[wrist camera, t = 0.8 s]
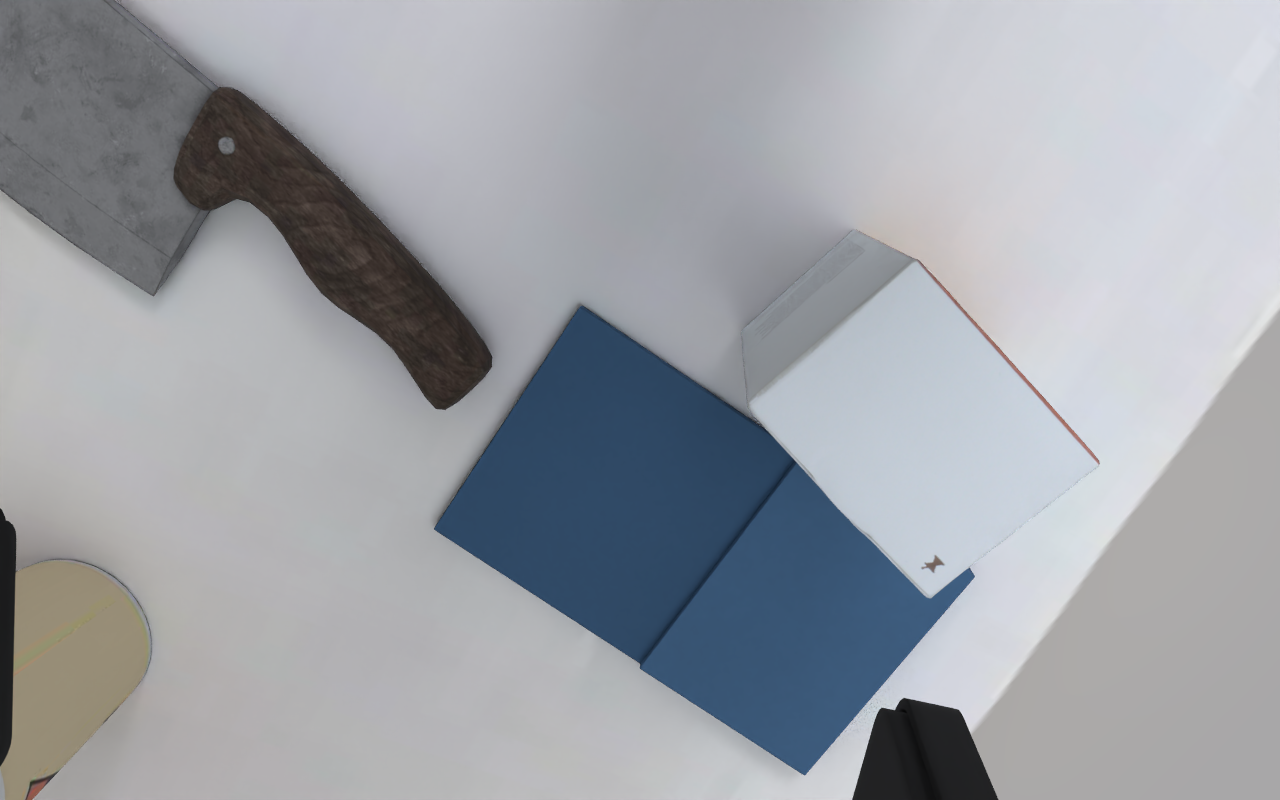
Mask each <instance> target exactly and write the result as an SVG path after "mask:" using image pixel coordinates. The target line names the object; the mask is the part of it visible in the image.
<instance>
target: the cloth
mask: <svg viewBox="0 0 1280 800" xmlns="http://www.w3.org/2000/svg"><path fill="white" fill-rule="evenodd" d="M434 530H436V531H437V532H439V533H440V534H442V535H443V536H445V537H446V538H448V539H449V540H451V541H453V542H454V543H456V544H457V545H459V546H460V547H462V548H463V549H465V550H466V551H468V552H469V553H471V554H473V555H474V556H476V557H477V558H479V559H480V560H482V561H483V562H485V563H486V564H488V565H489V566H491V567H493V568H494V569H496V570H497V571H499V572H500V573H502V574H503V575H505V576H506V577H508V578H509V579H511V580H513V581H514V582H516V583H517V584H519V585H520V586H522V587H523V588H525V589H526V590H528V591H529V592H531V593H532V594H534V595H536V596H537V597H539V598H540V599H542V600H543V601H545V602H546V603H548V604H549V605H551V606H552V607H554V608H556V609H557V610H559V611H560V612H562V613H563V614H565V615H566V616H568V617H569V618H571V619H572V620H574V621H576V622H577V623H579V624H580V625H582V626H583V627H585V628H586V629H588V630H589V631H591V632H592V633H594V634H596V635H597V636H599V637H600V638H602V639H603V640H605V641H606V642H608V643H609V644H611V645H612V646H614V647H616V648H617V649H619V650H620V651H622V652H623V653H625V654H626V655H628V656H629V657H631V658H632V659H634V660H636V661H637V662H639V663H640V669H641V670H643V671H645V672H646V673H648V674H649V675H651V676H652V677H654V678H655V679H657V680H658V681H660V682H661V683H663V684H665V685H666V686H668V687H669V688H671V689H672V690H674V691H675V692H677V693H678V694H680V695H681V696H683V697H685V698H686V699H688V700H689V701H691V702H692V703H694V704H695V705H697V706H698V707H700V708H701V709H703V710H705V711H706V712H708V713H709V714H711V715H712V716H714V717H715V718H717V719H718V720H720V721H721V722H723V723H725V724H726V725H728V726H729V727H731V728H732V729H734V730H735V731H737V732H738V733H740V734H741V735H743V736H745V737H746V738H748V739H749V740H751V741H752V742H754V743H755V744H757V745H758V746H760V747H761V748H763V749H765V750H766V751H768V752H769V753H771V754H772V755H774V756H775V757H777V758H778V759H780V760H781V761H783V762H785V763H786V764H788V765H789V766H791V767H792V768H794V769H795V770H797V771H798V772H800V773H801V774H803V775H806V774H807V772H808V771H809V770H810V769H811V768H812V766H813V765H814V764H815V763H816V762H817V761H818V759H819V758H820V757H821V756H822V755H823V754H824V752H825V751H826V750H827V749H828V748H829V747H830V745H831V744H832V743H833V742H834V741H835V740H836V738H837V737H838V736H839V735H840V734H841V733H842V731H843V730H844V729H845V728H846V727H847V726H848V724H849V723H850V722H851V721H852V720H853V719H854V717H855V716H856V715H857V714H858V713H859V712H860V710H861V709H862V708H863V707H864V706H865V705H866V703H867V702H868V701H869V700H870V699H871V698H872V696H873V695H874V694H875V693H876V692H877V691H878V689H879V688H880V687H881V686H882V685H883V684H884V682H885V681H886V680H887V679H888V678H889V676H890V675H891V674H892V673H893V672H894V671H895V669H896V668H897V667H898V666H899V665H900V664H901V662H902V661H903V660H904V659H905V658H906V657H907V655H908V654H909V653H910V652H911V651H912V650H913V648H914V647H915V646H916V645H917V644H918V643H919V641H920V640H921V639H922V638H923V637H924V636H925V634H926V633H927V632H928V631H929V630H930V629H931V627H932V626H933V625H934V624H935V623H936V622H937V620H938V619H939V618H940V617H941V616H942V615H943V613H944V612H945V611H946V610H947V609H948V608H949V606H950V605H951V604H952V603H953V602H954V601H955V599H956V598H957V597H958V596H959V595H960V594H961V592H962V591H963V590H964V589H965V588H966V586H967V585H968V584H969V583H970V582H971V581H972V579H973V578H974V577H975V576H974V574H973V573H972V571H971V569H970V568H968V569H966V570H965V571H964V572H963V573H961V574H960V575H959V576H957V577H956V578H955V579H954V580H952V581H951V582H950V583H949V584H947V585H946V586H945V587H944V588H943V589H941V590H940V591H939V592H938V593H937V594H935V595H934V596H933V597H932V598H927V597H926V596H924V595H923V594H922V593H921V592H920V591H919V590H918V588H917V587H916V586H915V585H914V584H913V583H912V582H911V581H910V580H909V579H908V578H907V577H906V576H905V575H904V574H903V573H902V572H901V571H900V570H899V569H898V568H897V567H896V566H895V565H894V564H893V563H892V562H891V561H890V560H889V559H888V558H887V557H886V556H885V555H884V554H883V553H882V552H881V550H880V549H879V548H878V547H877V546H876V545H875V544H874V543H873V542H872V541H871V540H870V539H868V538H867V537H866V536H865V535H864V534H863V533H862V532H860V531H859V530H858V529H857V528H856V527H855V526H854V525H853V524H852V523H851V521H850V520H849V519H848V518H847V517H846V516H845V515H844V514H843V513H842V512H841V511H840V510H839V509H838V508H837V507H836V506H835V505H834V504H833V503H832V501H831V500H830V499H829V498H828V497H827V495H826V494H825V493H824V492H823V491H822V490H821V489H820V487H819V486H818V485H817V484H816V483H815V482H814V481H813V480H812V479H811V478H810V477H809V475H808V474H807V473H806V472H805V471H804V470H803V469H802V468H801V467H800V466H799V464H798V463H797V462H796V461H795V460H794V459H793V458H792V457H791V456H790V455H789V454H788V453H787V452H786V450H785V449H784V448H783V447H782V446H781V445H780V444H779V443H778V442H777V441H776V440H775V438H774V437H773V436H772V435H771V434H770V433H769V432H768V431H767V430H765V429H764V428H762V427H761V426H759V425H758V424H756V423H755V422H753V421H752V420H751V419H749V418H748V417H746V416H745V415H743V414H742V413H740V412H739V411H737V410H736V409H734V408H733V407H731V406H730V405H728V404H727V403H725V402H724V401H722V400H721V399H719V398H718V397H717V396H715V395H714V394H712V393H711V392H709V391H708V390H706V389H705V388H703V387H702V386H700V385H699V384H697V383H696V382H694V381H693V380H691V379H690V378H688V377H687V376H685V375H684V374H683V373H681V372H680V371H678V370H677V369H675V368H674V367H672V366H671V365H669V364H668V363H666V362H665V361H663V360H662V359H660V358H659V357H657V356H656V355H654V354H653V353H651V352H650V351H649V350H647V349H646V348H644V347H643V346H641V345H640V344H638V343H637V342H635V341H634V340H632V339H631V338H629V337H628V336H626V335H625V334H623V333H622V332H620V331H619V330H617V329H616V328H615V327H613V326H612V325H610V324H609V323H607V322H606V321H604V320H603V319H601V318H600V317H598V316H597V315H595V314H594V313H592V312H591V311H589V310H588V309H586V308H585V307H583V306H580V307H579V309H578V310H577V312H576V313H575V315H574V316H573V318H572V319H571V321H570V322H569V324H568V325H567V327H566V328H565V330H564V331H563V333H562V334H561V336H560V338H559V339H558V341H557V342H556V344H555V345H554V347H553V348H552V350H551V351H550V353H549V354H548V356H547V357H546V359H545V360H544V362H543V363H542V365H541V366H540V368H539V369H538V371H537V373H536V374H535V376H534V377H533V379H532V380H531V382H530V383H529V385H528V386H527V388H526V389H525V391H524V392H523V394H522V395H521V397H520V398H519V400H518V401H517V403H516V404H515V406H514V408H513V409H512V411H511V412H510V414H509V415H508V417H507V418H506V420H505V421H504V423H503V424H502V426H501V427H500V429H499V430H498V432H497V433H496V435H495V436H494V438H493V439H492V441H491V443H490V444H489V446H488V447H487V449H486V450H485V452H484V453H483V455H482V456H481V458H480V459H479V461H478V462H477V464H476V465H475V467H474V468H473V470H472V471H471V473H470V474H469V476H468V478H467V479H466V481H465V482H464V484H463V485H462V487H461V488H460V490H459V491H458V493H457V494H456V496H455V497H454V499H453V500H452V502H451V503H450V505H449V506H448V508H447V509H446V511H445V513H444V514H443V516H442V517H441V519H440V520H439V522H438V523H437V525H436V526H435V528H434Z"/></svg>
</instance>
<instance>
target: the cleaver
mask: <svg viewBox="0 0 1280 800" xmlns="http://www.w3.org/2000/svg"><path fill="white" fill-rule="evenodd" d="M0 189H1V190H2V191H3V192H4V193H6V194H7V195H8V196H9V197H11V198H12V199H13V200H15V201H16V202H17V203H18V204H20V205H21V206H22V207H24V208H25V209H26V210H27V211H29V212H30V213H31V214H33V215H34V216H35V217H37V218H38V219H39V220H41V221H42V222H44V223H45V224H46V225H48V226H49V227H51V228H52V229H53V230H55V231H56V232H57V233H59V234H60V235H62V236H63V237H64V238H66V239H67V240H68V241H70V242H71V243H73V244H74V245H76V246H77V247H79V248H80V249H82V250H83V251H85V252H86V253H88V254H89V255H91V256H92V257H94V258H95V259H97V260H98V261H100V262H101V263H103V264H104V265H105V266H107V267H108V268H110V269H111V270H113V271H115V272H116V273H118V274H119V275H121V276H122V277H124V278H125V279H127V280H129V281H130V282H132V283H133V284H135V285H136V286H138V287H139V288H141V289H143V290H144V291H146V292H147V293H149V294H150V295H152V296H154V295H155V294H156V293H157V291H158V290H159V288H160V287H161V286H162V284H163V283H164V281H165V280H166V279H167V277H168V276H169V274H170V273H171V272H172V270H173V269H174V267H175V266H176V264H177V263H178V262H179V260H180V259H181V257H182V256H183V254H184V253H185V251H186V249H187V248H188V246H189V244H190V243H191V241H192V239H193V237H194V236H195V234H196V232H197V231H198V229H199V227H200V226H201V224H202V222H203V221H204V219H205V217H206V216H207V214H208V212H209V211H210V210H213V209H216V208H218V207H220V206H223V205H225V204H227V203H229V202H231V201H233V200H235V199H240V200H244V201H247V202H250V203H251V204H253V205H254V206H255V207H256V208H258V209H259V210H260V211H261V212H263V213H264V214H265V215H266V216H268V217H269V219H270V220H271V221H272V222H273V224H274V225H275V226H276V227H277V229H278V230H279V231H280V232H281V234H282V235H283V236H284V238H285V240H286V241H287V243H288V245H289V246H290V248H291V249H292V251H293V253H294V254H295V256H296V258H297V259H298V261H299V262H300V264H301V266H302V267H303V269H304V271H305V272H306V274H307V275H308V277H309V278H310V279H311V281H312V282H313V283H314V284H315V286H316V287H317V288H318V289H319V291H320V292H321V293H322V294H323V295H324V296H325V297H327V298H328V299H329V300H330V301H331V302H332V303H334V304H335V305H336V306H337V307H338V308H340V309H341V310H343V311H344V312H346V313H347V314H349V315H350V316H352V317H353V318H355V319H356V320H358V321H359V322H361V323H362V324H364V325H365V326H367V327H368V328H370V329H371V330H372V331H374V332H375V333H376V334H377V335H378V336H380V337H381V338H382V339H383V340H384V341H385V342H386V343H387V344H388V345H389V346H390V347H391V348H392V349H393V350H394V351H395V353H396V354H397V356H398V357H399V358H400V360H401V361H402V363H403V364H404V366H405V367H406V368H407V370H408V371H409V373H410V374H411V376H412V377H413V379H414V380H415V382H416V383H417V385H418V387H419V388H420V390H421V391H422V393H423V394H424V396H425V397H426V399H427V400H428V401H429V402H430V403H431V404H432V405H433V406H434V407H435V408H436V409H442V410H446V409H447V408H449V407H451V406H452V405H454V404H455V403H457V402H458V401H460V400H461V399H462V398H463V397H464V396H465V395H466V394H467V393H469V392H470V391H471V390H472V389H473V388H474V387H475V386H476V385H477V384H478V383H479V382H480V381H481V380H482V379H483V378H484V377H485V376H486V374H487V373H488V372H489V370H490V369H491V367H492V356H491V354H490V352H489V350H488V348H487V347H486V345H485V343H484V341H483V340H482V339H481V337H480V336H479V335H478V333H477V332H476V331H475V329H474V328H473V326H472V325H471V324H470V322H469V321H468V320H467V319H466V317H465V316H464V315H463V314H462V312H461V311H460V310H459V309H458V307H457V306H456V305H455V304H454V302H453V301H452V300H451V299H450V297H449V296H448V295H447V294H446V293H445V292H444V290H443V289H442V288H441V287H440V286H439V285H438V283H437V282H436V281H435V280H434V279H433V278H432V277H431V275H430V274H429V273H428V272H427V271H426V270H425V269H424V268H423V267H422V266H421V264H420V263H419V262H418V261H417V260H416V259H415V258H414V257H413V256H412V255H411V253H410V252H409V251H408V250H407V249H406V248H405V247H404V246H403V245H402V244H401V243H400V242H399V240H398V239H397V238H396V237H395V236H394V235H393V234H392V233H391V232H390V231H389V230H388V229H387V228H386V227H385V226H384V224H383V223H382V222H381V221H380V220H379V219H378V218H377V217H376V216H375V215H374V214H373V213H372V212H371V211H370V210H369V209H368V208H367V207H366V206H365V205H364V204H363V203H362V202H361V201H360V200H359V199H358V198H357V196H356V195H355V194H354V193H353V192H352V191H351V190H350V189H349V188H348V187H347V186H346V185H345V184H344V183H343V182H342V181H341V180H340V179H339V178H338V177H337V176H336V175H335V174H334V173H333V172H332V171H331V170H329V169H328V168H327V167H326V166H325V165H324V164H323V163H322V162H321V161H320V160H319V159H318V158H317V157H316V156H315V155H314V154H312V153H311V152H310V151H309V150H308V149H307V148H306V147H305V146H304V145H303V144H302V143H301V142H299V141H298V140H297V139H296V138H295V137H294V136H293V135H291V134H290V133H289V132H288V131H287V130H286V129H285V128H284V127H282V126H281V125H280V124H279V123H278V122H277V121H276V120H274V119H273V118H272V117H271V116H270V115H269V114H267V113H266V112H265V111H264V110H263V109H261V108H260V107H259V106H258V105H257V104H255V103H254V102H253V101H252V100H250V99H249V98H248V97H246V96H245V95H243V94H242V93H241V92H239V91H238V90H235V89H231V88H227V87H220V88H218V87H217V86H216V85H215V84H214V83H212V82H211V81H210V80H209V79H208V78H206V77H205V76H204V75H203V74H202V73H200V72H199V71H198V70H197V69H196V68H195V67H193V66H192V65H191V64H190V63H189V62H187V61H186V60H185V59H184V58H183V57H181V56H180V55H179V54H178V53H177V52H175V51H174V50H173V49H172V48H171V47H170V46H168V45H167V44H166V43H165V42H164V41H162V40H161V39H160V38H159V37H158V36H156V35H155V34H154V33H153V32H152V31H150V30H149V29H148V28H147V27H146V26H145V25H143V24H142V23H141V22H140V21H139V20H137V19H136V18H135V17H134V16H133V15H131V14H130V13H129V12H128V11H127V10H126V9H124V8H123V7H122V6H121V5H120V4H118V3H117V2H116V1H115V0H0Z"/></svg>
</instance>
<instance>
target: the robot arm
mask: <svg viewBox="0 0 1280 800" xmlns="http://www.w3.org/2000/svg"><path fill="white" fill-rule="evenodd" d="M15 576H16V531H15V529H14V527H13V525H12V524H11V523H10V522H9V521H6V519H5V516H4V514H3V511H2V509H0V766H1V765H2V763H3V762H4V760H5V758H6V756H7V754H8V752H9V749H10V746H11V740H12V717H13V670H14V623H15ZM852 800H998V798H997V796H996V793H995V791H994V788H993V786H992V784H991V781H990V779H989V777H988V774H987V772H986V770H985V767H984V765H983V762H982V760H981V758H980V755H979V753H978V751H977V748H976V746H975V744H974V741H973V739H972V737H971V734H970V732H969V730H968V727H967V725H966V722H965V720H964V718H963V715H962V714H961V712H960V711H959V710H957V709H953V708H949V707H944V706H939V705H935V704H930V703H925V702H921V701H916V700H911V699H906V698H903V699H902V700H901V701H900V702H899V704H898V705H897V707H896V710H890V709H886V708H881V709H880V710H879V712H878V714H877V716H876V719H875V722H874V725H873V728H872V732H871V735H870V739H869V743H868V746H867V750H866V753H865V757H864V760H863V764H862V767H861V771H860V774H859V778H858V781H857V785H856V788H855V792H854V796H853V799H852Z"/></svg>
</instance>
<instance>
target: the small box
mask: <svg viewBox="0 0 1280 800" xmlns="http://www.w3.org/2000/svg"><path fill="white" fill-rule="evenodd" d="M741 337H742V349H743V360H744V372H745V383H746V393H747V405H748V409H749V410H750V411H751V413H752V414H753V415H754V416H755V417H756V418H757V420H758V421H759V422H760V423H761V424H762V425H763V426H764V427H765V428H766V430H767V431H768V432H769V433H770V434H771V435H772V436H773V437H774V438H775V440H776V441H777V442H778V443H779V444H780V445H781V446H782V447H783V448H784V449H785V450H786V452H787V453H788V454H789V455H790V456H791V457H792V458H793V459H794V460H795V461H796V462H797V463H798V464H799V466H800V467H801V468H802V469H803V470H804V471H805V472H806V473H807V474H808V475H809V477H810V478H811V479H812V480H813V481H814V482H815V483H816V484H817V485H818V486H819V487H820V489H821V490H822V491H823V492H824V493H825V494H826V495H827V497H828V498H829V499H830V500H831V501H832V503H833V504H834V505H835V506H836V507H837V508H838V509H839V510H840V511H841V512H842V513H843V514H844V515H845V516H846V517H847V518H848V519H849V520H850V521H851V523H852V524H853V525H854V526H855V527H856V528H857V529H858V530H859V531H860V532H862V533H863V534H864V535H865V536H866V537H867V538H868V539H870V540H871V541H872V542H873V543H874V544H875V545H876V546H877V547H878V548H879V549H880V550H881V552H882V553H883V554H884V555H885V556H886V557H887V558H888V559H889V560H890V561H891V562H892V563H893V564H894V565H895V566H896V567H897V568H898V569H899V570H900V571H901V572H902V573H903V574H904V575H905V576H906V577H907V578H908V579H909V580H910V581H911V582H912V583H913V584H914V585H915V586H916V587H917V588H918V590H919V591H920V592H921V593H922V594H923V595H924V596H926V597H927V598H932V597H933V596H934V595H935V594H937V593H938V592H939V591H940V590H941V589H943V588H944V587H945V586H946V585H947V584H949V583H950V582H951V581H952V580H954V579H955V578H956V577H957V576H959V575H960V574H961V573H963V572H964V571H965V570H966V569H968V568H969V567H970V566H972V565H973V564H974V563H976V562H977V561H978V560H979V559H981V558H982V557H983V556H985V555H986V554H987V553H988V552H990V551H991V550H992V549H994V548H995V547H996V546H997V545H999V544H1000V543H1001V542H1003V541H1004V540H1005V539H1006V538H1008V537H1009V536H1010V535H1012V534H1013V533H1014V532H1015V531H1017V530H1018V529H1019V528H1020V527H1022V526H1023V525H1024V524H1025V523H1027V522H1028V521H1029V520H1031V519H1032V518H1033V517H1034V516H1036V515H1037V514H1038V513H1039V512H1041V511H1042V510H1043V509H1045V508H1046V507H1047V506H1048V505H1050V504H1051V503H1052V502H1054V501H1055V500H1056V499H1057V498H1059V497H1060V496H1061V495H1063V494H1064V493H1065V492H1066V491H1068V490H1069V489H1070V488H1071V487H1073V486H1074V485H1075V484H1076V483H1078V482H1079V481H1080V480H1081V479H1083V478H1084V477H1085V476H1087V475H1088V474H1089V473H1091V472H1092V471H1093V470H1095V469H1096V468H1097V467H1098V466H1099V464H1100V463H1099V460H1098V459H1097V458H1096V456H1095V455H1094V454H1093V453H1092V451H1091V450H1090V449H1089V448H1088V447H1087V446H1086V445H1085V443H1084V442H1083V441H1082V440H1081V439H1080V438H1079V437H1078V436H1077V434H1076V433H1075V432H1074V431H1073V430H1072V429H1071V428H1070V427H1069V425H1068V424H1067V423H1066V422H1065V421H1064V420H1063V419H1062V418H1061V417H1060V415H1059V414H1058V413H1057V412H1056V411H1055V410H1054V409H1053V407H1052V406H1051V405H1050V404H1049V403H1048V402H1047V401H1046V400H1045V398H1044V397H1043V396H1042V395H1041V394H1040V393H1039V392H1038V391H1037V390H1036V389H1035V387H1034V386H1033V385H1032V384H1031V383H1030V382H1029V381H1028V380H1027V379H1026V378H1025V376H1024V375H1023V374H1022V373H1021V372H1020V371H1019V370H1018V369H1017V368H1016V366H1015V365H1014V364H1013V363H1012V362H1011V361H1010V360H1009V359H1008V357H1007V356H1006V355H1005V354H1004V353H1003V352H1002V351H1001V350H1000V348H999V347H998V346H997V345H996V344H995V343H994V342H993V341H992V340H991V339H990V338H989V336H988V335H987V334H986V333H985V332H984V331H983V330H982V329H981V328H980V327H979V326H978V324H977V323H976V322H975V321H974V320H973V319H972V318H971V317H970V316H969V315H968V314H967V312H966V311H965V310H964V309H963V308H962V307H961V306H960V305H959V304H958V302H957V301H956V300H955V299H954V298H953V297H952V295H951V294H950V293H949V292H948V291H947V290H946V289H945V288H944V287H943V286H942V285H941V283H940V282H939V281H938V280H937V279H936V278H935V277H934V276H933V275H932V274H931V273H930V272H929V271H928V270H927V268H926V267H925V266H924V265H923V264H922V263H921V262H920V261H919V260H918V259H914V258H912V257H910V256H907V255H906V254H904V253H902V252H900V251H898V250H895V249H893V248H892V247H889V246H887V245H885V244H883V243H881V242H879V241H878V240H875V239H874V238H871V237H870V236H867V235H866V234H864V233H862V232H860V231H858V230H853V231H851V232H850V233H849V234H848V235H847V236H846V237H845V238H844V239H843V240H842V241H840V242H839V243H838V244H837V245H836V246H835V247H834V248H833V249H832V250H830V251H829V252H828V253H827V254H826V255H825V256H824V257H823V258H822V259H821V260H819V261H818V262H817V263H816V264H815V265H814V266H813V267H812V268H811V269H809V270H808V271H807V272H806V273H805V274H804V275H803V276H802V277H801V278H799V279H798V280H797V281H796V282H795V283H794V284H793V285H792V286H791V287H789V288H788V289H787V290H786V291H785V292H784V293H783V294H782V295H781V296H779V297H778V298H777V299H776V300H775V301H774V302H773V303H772V304H771V305H769V306H768V307H767V308H766V309H765V310H764V311H763V312H762V313H761V314H759V315H758V316H757V317H756V318H755V319H754V320H753V321H752V322H751V323H749V324H748V325H747V326H746V327H745V328H744V329H743V330H742V332H741Z"/></svg>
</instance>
